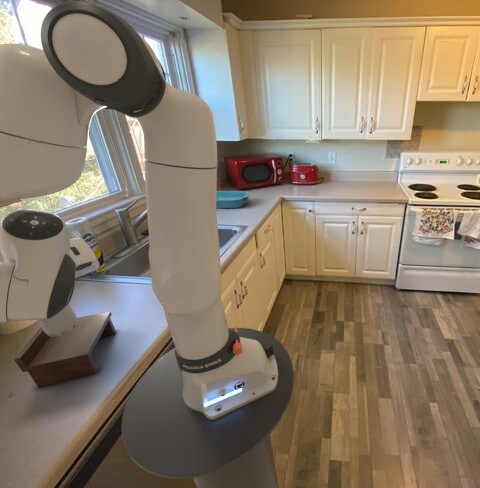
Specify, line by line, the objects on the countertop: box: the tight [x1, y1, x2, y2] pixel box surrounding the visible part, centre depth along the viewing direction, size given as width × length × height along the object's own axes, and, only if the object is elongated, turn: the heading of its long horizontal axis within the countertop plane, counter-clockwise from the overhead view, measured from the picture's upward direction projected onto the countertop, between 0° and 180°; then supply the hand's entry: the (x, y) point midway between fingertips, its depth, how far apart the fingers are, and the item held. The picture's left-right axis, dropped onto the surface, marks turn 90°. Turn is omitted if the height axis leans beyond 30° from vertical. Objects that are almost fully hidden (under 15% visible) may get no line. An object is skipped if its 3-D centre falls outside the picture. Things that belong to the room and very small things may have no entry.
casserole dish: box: [216, 190, 251, 209], centre depth 196 cm, size 37×22×7 cm, turn 85°
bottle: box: [38, 303, 78, 337], centre depth 65 cm, size 7×7×20 cm
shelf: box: [13, 311, 117, 388], centre depth 74 cm, size 13×17×10 cm
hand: (42, 291), depth 64 cm, fingers closed on bottle, 6 cm apart
